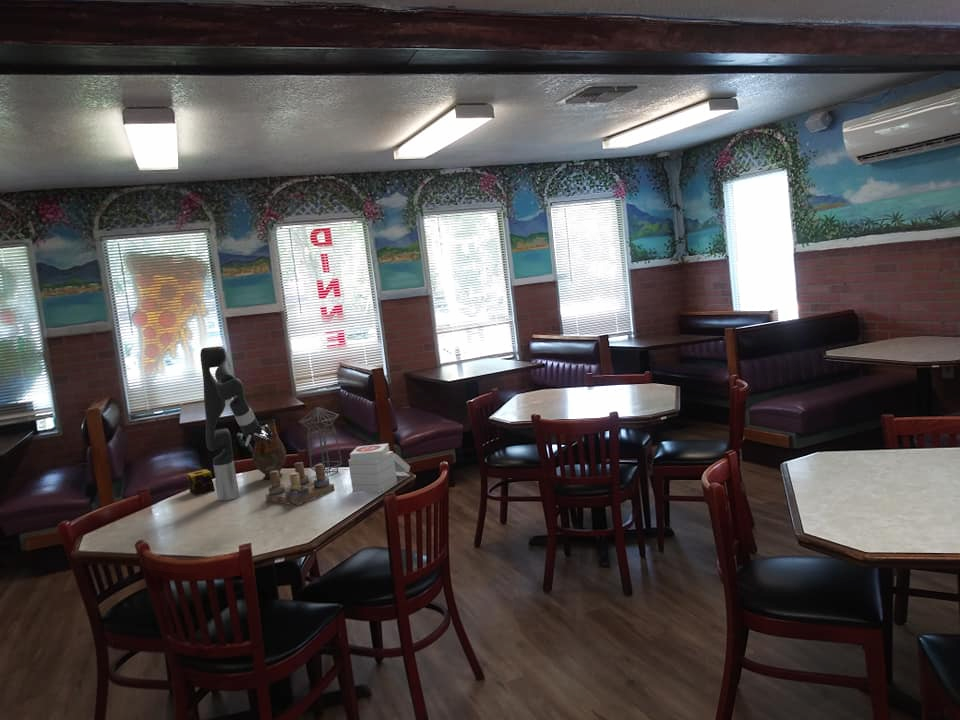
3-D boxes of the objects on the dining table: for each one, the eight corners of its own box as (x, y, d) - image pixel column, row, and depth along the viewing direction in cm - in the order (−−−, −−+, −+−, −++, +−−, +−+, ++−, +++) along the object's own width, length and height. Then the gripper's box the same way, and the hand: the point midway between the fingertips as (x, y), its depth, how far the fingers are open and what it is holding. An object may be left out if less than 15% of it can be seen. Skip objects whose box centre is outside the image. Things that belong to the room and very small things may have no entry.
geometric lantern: (349, 470, 375) (339, 404, 370) (328, 480, 362) (318, 411, 357) (326, 469, 383) (316, 403, 378) (305, 478, 370) (294, 411, 365)
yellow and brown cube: (215, 491, 366) (212, 471, 365) (194, 496, 360) (191, 476, 359) (210, 487, 374) (206, 468, 373) (189, 492, 369) (186, 473, 368)
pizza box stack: (414, 474, 353) (409, 437, 351) (381, 493, 326) (375, 454, 324) (381, 473, 361) (376, 438, 359) (345, 492, 334) (340, 454, 332)
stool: (266, 501, 336) (262, 473, 334) (303, 486, 353) (299, 460, 352) (297, 505, 323) (293, 476, 321) (334, 490, 340) (330, 463, 339)
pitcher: (295, 472, 386) (286, 416, 382) (276, 484, 365) (267, 425, 361) (266, 474, 389) (257, 418, 386) (246, 486, 368) (236, 427, 365)
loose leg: (291, 496, 327) (287, 474, 326) (298, 493, 330) (294, 472, 329) (296, 497, 325) (293, 475, 324) (303, 494, 328) (300, 472, 327)
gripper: (262, 409, 318) (277, 437, 327) (231, 419, 318) (246, 447, 326) (261, 419, 312) (276, 448, 320) (229, 429, 311) (244, 457, 320)
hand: (261, 447), depth 323 cm, fingers open, 8 cm apart
